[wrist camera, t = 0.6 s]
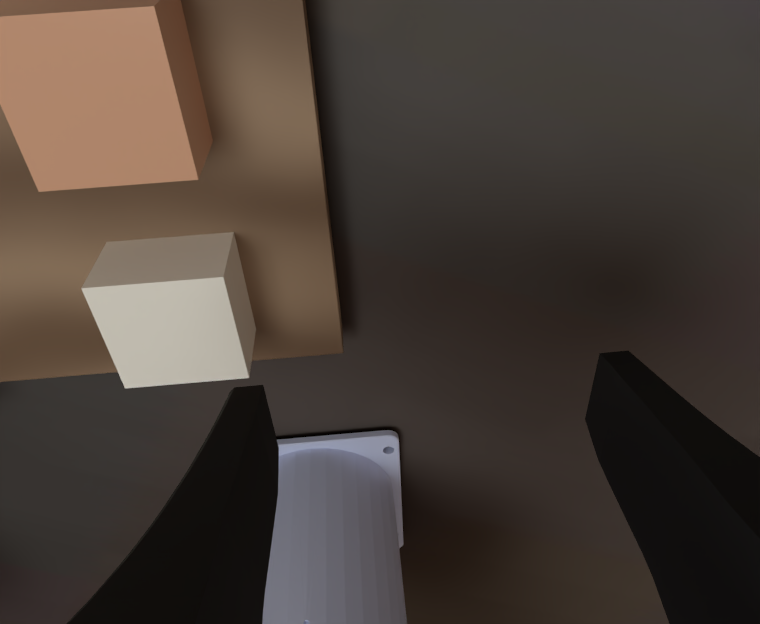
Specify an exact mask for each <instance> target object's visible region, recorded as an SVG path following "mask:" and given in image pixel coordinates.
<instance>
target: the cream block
mask: <svg viewBox="0 0 760 624" xmlns="http://www.w3.org/2000/svg"><path fill="white" fill-rule="evenodd" d="M81 289H82V291H83V294H84V296H85V298H86V300H87V303H88V305H89V307H90V310H91V312H92V314H93V316H94V319H95V321H96V323H97V325H98V328H99V330H100V332H101V335H102V337H103V339H104V341H105V344H106V346H107V348H108V350H109V353H110V355H111V357H112V360H113V362H114V364H115V366H116V369H117V371H118V373H119V375H120V378H121V380H122V382H123V385H124V387H125V388H136V387H147V386H159V385H171V384H183V383H195V382H206V381H218V380H230V379H242V378H249V375H250V368H251V361H252V354H253V347H254V340H255V333H256V327H255V322H254V318H253V313H252V309H251V305H250V300H249V296H248V292H247V287H246V283H245V279H244V274H243V270H242V265H241V261H240V257H239V252H238V248H237V244H236V239H235V235H234V232H229V233H216V234H203V235H190V236H178V237H165V238H152V239H139V240H126V241H114V242H106V244H105V246H104V248H103V249H102V251H101V253H100V255H99V257H98V259H97V260H96V262H95V264H94V266H93V268H92V270H91V271H90V273H89V275H88V277H87V279H86V280H85V282H84V284H83V286H82V288H81Z"/></svg>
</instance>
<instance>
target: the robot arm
mask: <svg viewBox="0 0 760 624" xmlns="http://www.w3.org/2000/svg"><path fill="white" fill-rule="evenodd" d="M585 420H586V423H587V426H588V429H589V432H590V436H591V439H592V442H593V445H594V448H595V451H596V454H597V457H598V460H599V462H600V465H601V467H602V469H603V471H604V473H605V476H606V478H607V480H608V482H609V484H610V486H611V488H612V490H613V493H614V495H615V497H616V499H617V501H618V503H619V505H620V507H621V509H622V511H623V513H624V516H625V518H626V520H627V522H628V524H629V526H630V528H631V530H632V532H633V534H634V536H635V539H636V541H637V543H638V545H639V547H640V549H641V551H642V553H643V555H644V558H645V560H646V562H647V565H648V567H649V569H650V572H651V574H652V576H653V579H654V582H655V584H656V587H657V590H658V593H659V596H660V598H661V601H662V604H663V607H664V609H665V612H666V615H667V618H668V620H669V623H670V624H760V457H759V456H757V455H756V454H755V453H753V452H752V451H750V450H749V449H748V448H746V447H745V446H744V445H742V444H741V443H740V442H738V441H737V440H735V439H734V438H733V437H731V436H730V435H729V434H727V433H726V432H725V431H724V430H722V429H721V428H720V427H718V426H717V425H716V424H714V423H713V422H712V421H711V420H709V419H708V418H707V417H706V416H704V415H703V414H702V413H701V412H700V411H698V410H697V409H696V408H695V407H693V406H692V405H691V404H690V403H689V402H687V401H686V400H685V399H684V398H683V397H681V396H680V395H679V394H678V393H677V392H676V391H674V390H673V389H672V388H671V387H670V386H669V385H667V384H666V383H665V382H664V381H663V380H662V379H660V378H659V377H658V376H657V375H656V374H655V373H653V372H652V371H651V370H650V369H649V368H648V367H647V366H645V365H644V364H643V363H642V362H641V361H640V360H638V359H637V358H636V357H635V356H634V355H632V354H631V353H630V352H629V351H620V352H610V353H600V355H599V359H598V364H597V368H596V373H595V377H594V382H593V386H592V391H591V395H590V400H589V404H588V409H587V413H586V418H585ZM403 544H404V543H403V521H402V498H401V476H400V453H399V437H398V434H397V433H396V432H395V431H392V430H381V431H369V432H358V433H346V434H335V435H323V436H312V437H301V438H289V439H278V440H277V439H276V435H275V431H274V427H273V423H272V419H271V415H270V411H269V407H268V403H267V399H266V395H265V391H264V387H263V385H257V386H247V387H236V388H234V389H233V390H232V391H231V392H230V393H229V395H228V397H227V400H226V402H225V404H224V406H223V408H222V410H221V412H220V414H219V416H218V418H217V420H216V422H215V423H214V425H213V427H212V429H211V431H210V433H209V435H208V436H207V438H206V440H205V442H204V444H203V445H202V447H201V449H200V450H199V452H198V454H197V455H196V457H195V459H194V461H193V462H192V464H191V466H190V467H189V469H188V471H187V472H186V474H185V476H184V477H183V479H182V480H181V482H180V483H179V485H178V486H177V488H176V489H175V491H174V492H173V494H172V495H171V497H170V498H169V500H168V501H167V503H166V504H165V506H164V507H163V509H162V510H161V512H160V513H159V515H158V516H157V517H156V519H155V520H154V522H153V523H152V524H151V526H150V527H149V528H148V530H147V531H146V532H145V534H144V535H143V536H142V538H141V539H140V540H139V542H138V543H137V544H136V545H135V547H134V548H133V549H132V551H131V552H130V553H129V554H128V556H127V557H126V558H125V559H124V560H123V562H122V563H121V564H120V565H119V566H118V567H117V569H116V570H115V571H114V572H113V573H112V575H111V576H110V577H109V578H108V579H107V580H106V582H105V583H104V584H103V585H102V586H101V587H100V589H99V590H98V591H97V592H96V593H95V594H94V595H93V596H92V598H91V599H90V600H89V601H88V602H87V603H86V604H85V605H84V606H83V607H82V608H81V609H80V610H79V611H78V612H77V613H76V614H75V615H74V616H73V617H72V619H71V620H70V621H69V622H68V623H67V624H407V618H406V609H405V599H404V590H403V580H402V571H401V561H400V551H399V548H401V547H402V546H403Z"/></svg>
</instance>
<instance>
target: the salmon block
mask: <svg viewBox="0 0 760 624" xmlns="http://www.w3.org/2000/svg"><path fill="white" fill-rule="evenodd" d="M0 105H1V107H2V110H3V112H4V114H5V116H6V119H7V121H8V123H9V125H10V128H11V130H12V132H13V135H14V137H15V139H16V141H17V144H18V146H19V148H20V150H21V153H22V155H23V157H24V160H25V162H26V164H27V166H28V169H29V171H30V173H31V175H32V178H33V180H34V182H35V185H36V187H37V189H38V191H39V192H44V191H57V190H70V189H83V188H97V187H110V186H123V185H136V184H149V183H162V182H176V181H189V180H199V177H200V174H201V172H202V169H203V166H204V164H205V161H206V158H207V156H208V153H209V150H210V148H211V145H212V142H213V139H212V135H211V130H210V126H209V122H208V117H207V113H206V108H205V104H204V100H203V95H202V91H201V87H200V82H199V78H198V74H197V69H196V65H195V61H194V56H193V52H192V47H191V43H190V39H189V34H188V30H187V26H186V21H185V17H184V13H183V8H182V4H181V0H1V1H0Z"/></svg>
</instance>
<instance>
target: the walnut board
mask: <svg viewBox="0 0 760 624" xmlns="http://www.w3.org/2000/svg"><path fill="white" fill-rule="evenodd" d="M0 1H1V0H0ZM181 4H182V8H183V13H184V17H185V21H186V26H187V30H188V34H189V39H190V43H191V47H192V52H193V56H194V61H195V65H196V69H197V74H198V78H199V82H200V87H201V91H202V95H203V100H204V104H205V108H206V113H207V117H208V122H209V126H210V130H211V135H212V139H213V142H212V145H211V148H210V150H209V153H208V156H207V158H206V161H205V164H204V166H203V169H202V172H201V174H200V177H199V180H189V181H176V182H162V183H149V184H136V185H123V186H110V187H97V188H83V189H70V190H57V191H44V192H39V191H38V189H37V187H36V185H35V182H34V180H33V178H32V175H31V173H30V171H29V169H28V166H27V164H26V162H25V160H24V157H23V155H22V153H21V150H20V148H19V146H18V144H17V141H16V139H15V137H14V135H13V132H12V130H11V128H10V125H9V123H8V121H7V119H6V116H5V114H4V112H3V110H2V107H1V105H0V382H4V381H16V380H28V379H40V378H52V377H64V376H76V375H88V374H100V373H111V372H118V371H117V369H116V366H115V364H114V362H113V360H112V357H111V355H110V353H109V350H108V348H107V346H106V344H105V341H104V339H103V337H102V335H101V332H100V330H99V328H98V325H97V323H96V321H95V319H94V316H93V314H92V312H91V310H90V307H89V305H88V303H87V300H86V298H85V296H84V294H83V291H82V289H81V288H82V286H83V284H84V282H85V280H86V279H87V277H88V275H89V273H90V271H91V270H92V268H93V266H94V264H95V262H96V260H97V259H98V257H99V255H100V253H101V251H102V249H103V248H104V246H105V244H106V242H114V241H126V240H139V239H152V238H165V237H178V236H190V235H203V234H216V233H229V232H234V235H235V239H236V244H237V248H238V252H239V257H240V261H241V265H242V270H243V274H244V279H245V283H246V287H247V292H248V296H249V300H250V305H251V309H252V313H253V318H254V322H255V327H256V333H255V340H254V347H253V354H252V361H254V360H266V359H278V358H290V357H302V356H314V355H326V354H338V353H343V330H342V320H341V311H340V302H339V293H338V284H337V275H336V267H335V258H334V249H333V240H332V231H331V222H330V214H329V205H328V196H327V187H326V178H325V169H324V161H323V152H322V143H321V134H320V125H319V116H318V108H317V99H316V90H315V81H314V72H313V63H312V55H311V46H310V37H309V28H308V19H307V11H306V2H305V0H181Z"/></svg>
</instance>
